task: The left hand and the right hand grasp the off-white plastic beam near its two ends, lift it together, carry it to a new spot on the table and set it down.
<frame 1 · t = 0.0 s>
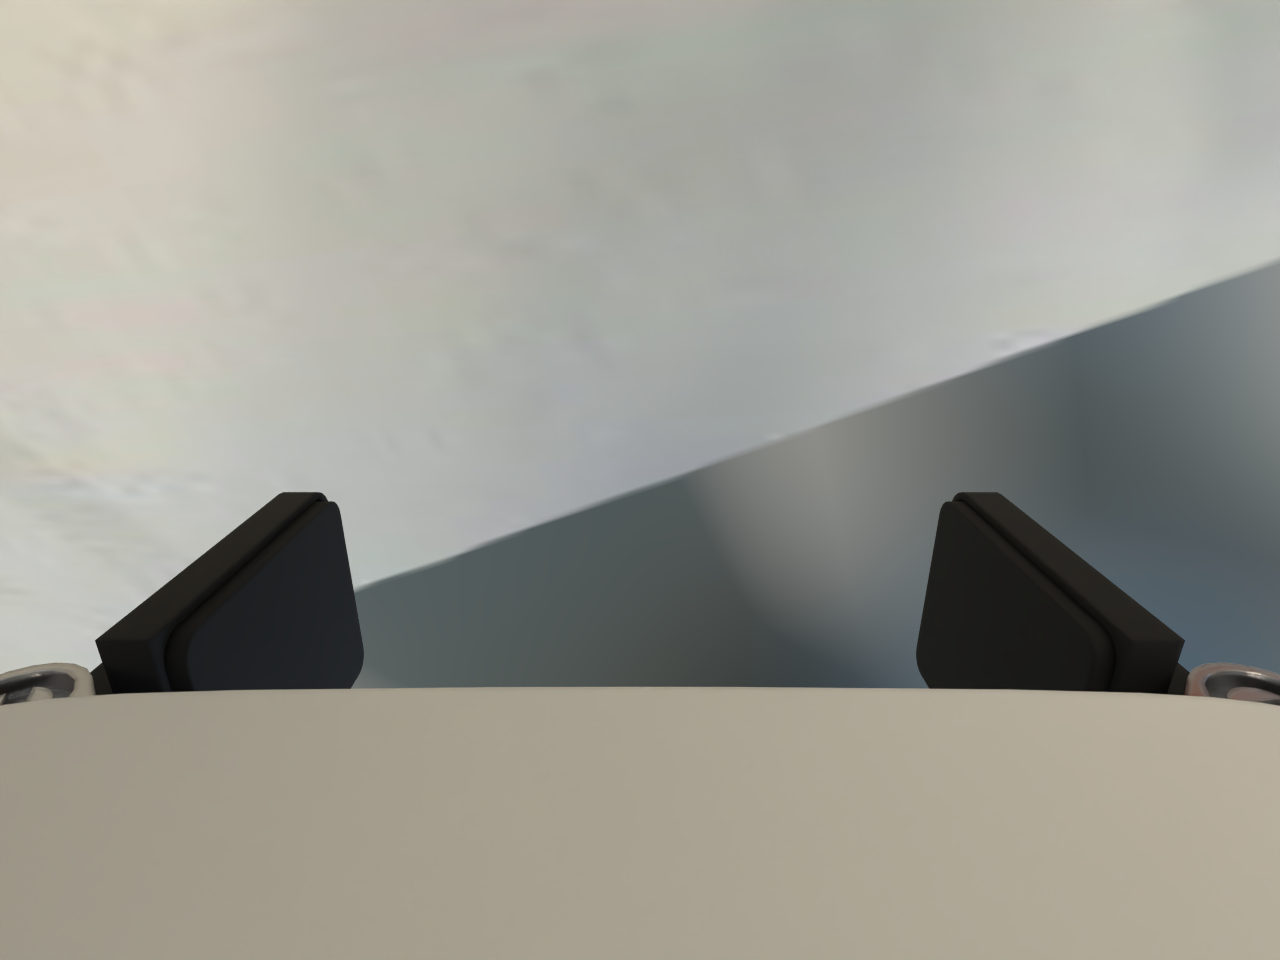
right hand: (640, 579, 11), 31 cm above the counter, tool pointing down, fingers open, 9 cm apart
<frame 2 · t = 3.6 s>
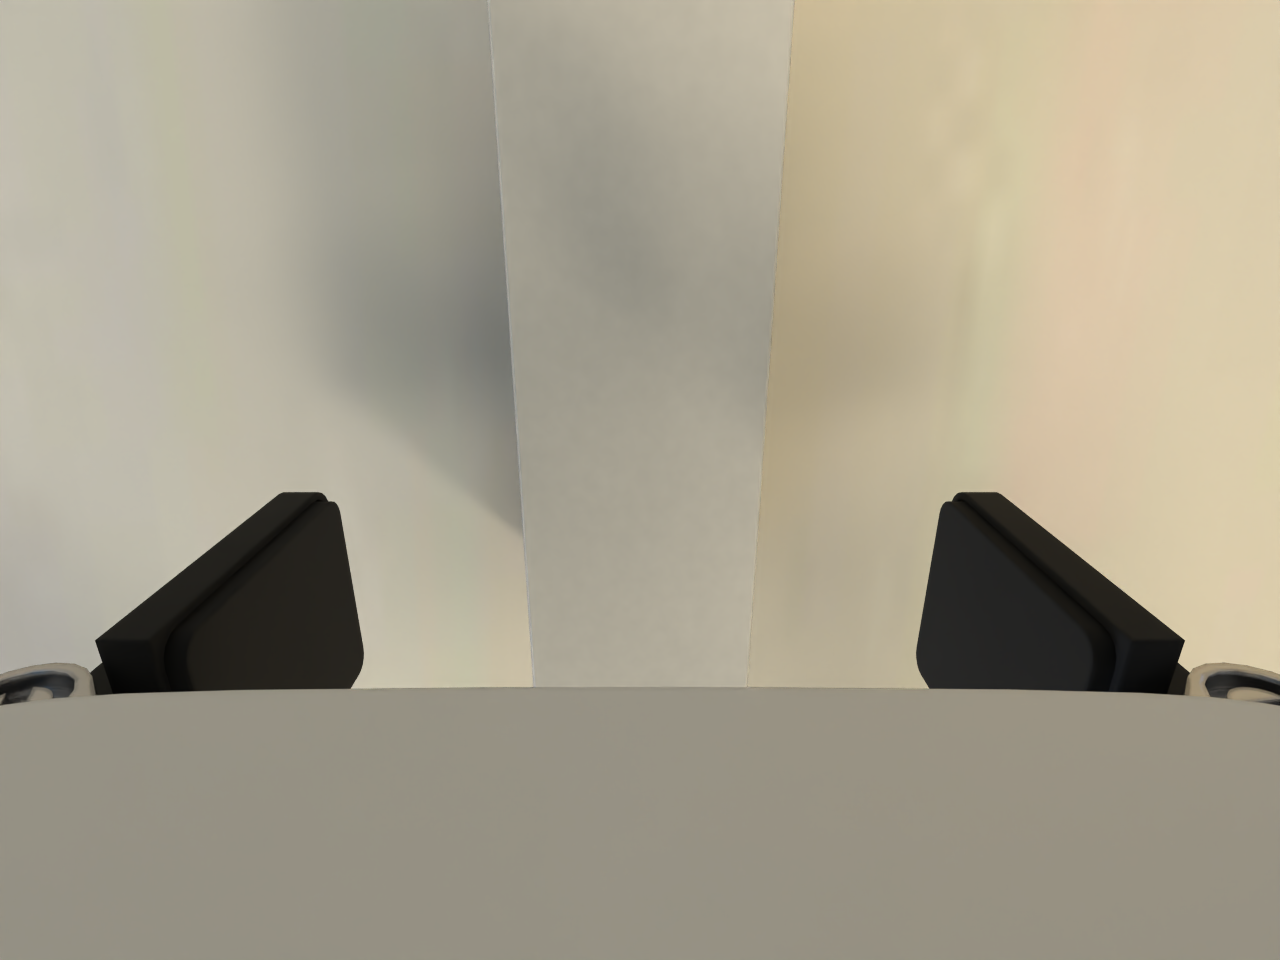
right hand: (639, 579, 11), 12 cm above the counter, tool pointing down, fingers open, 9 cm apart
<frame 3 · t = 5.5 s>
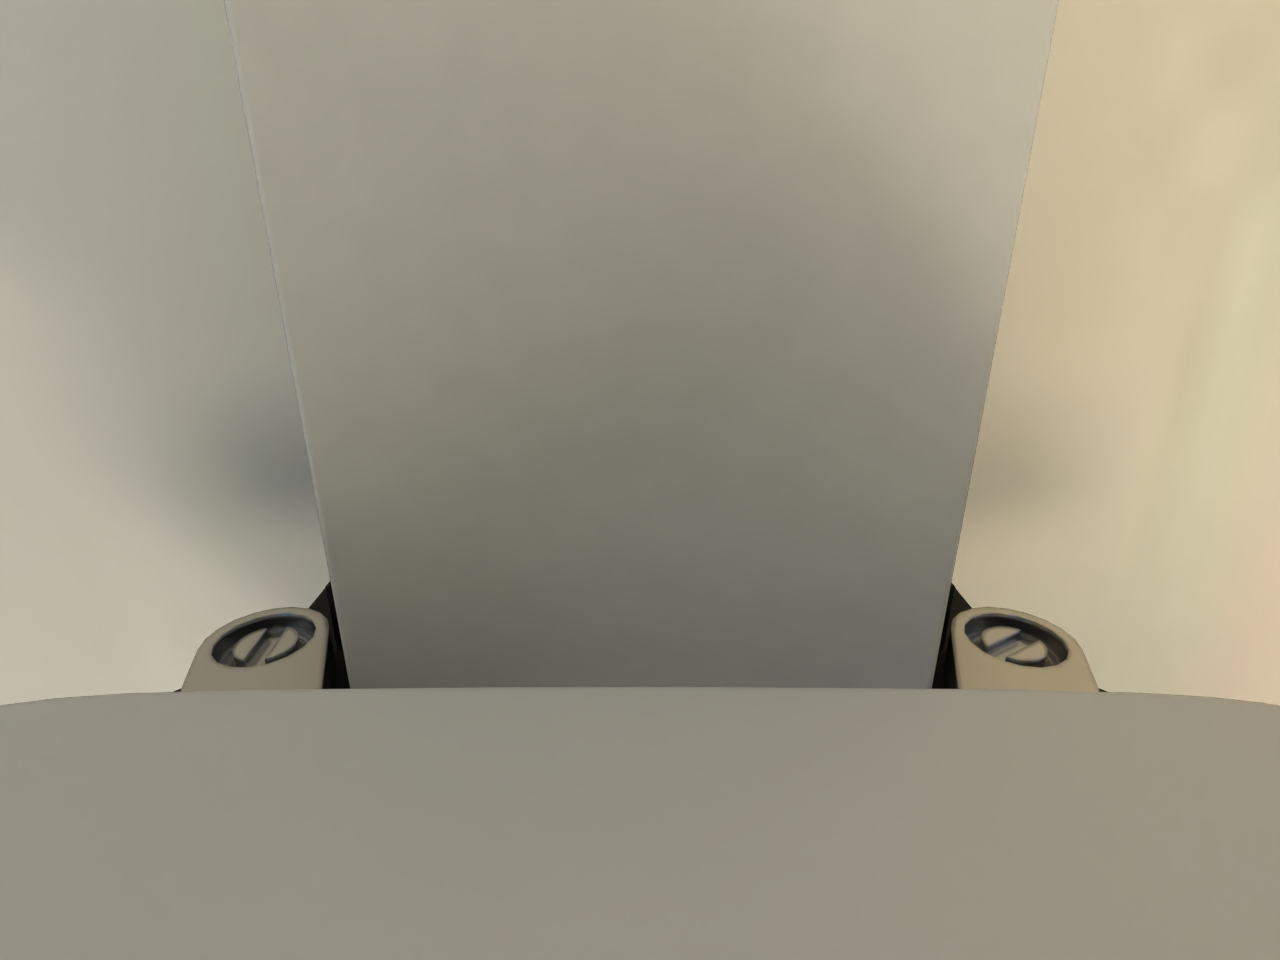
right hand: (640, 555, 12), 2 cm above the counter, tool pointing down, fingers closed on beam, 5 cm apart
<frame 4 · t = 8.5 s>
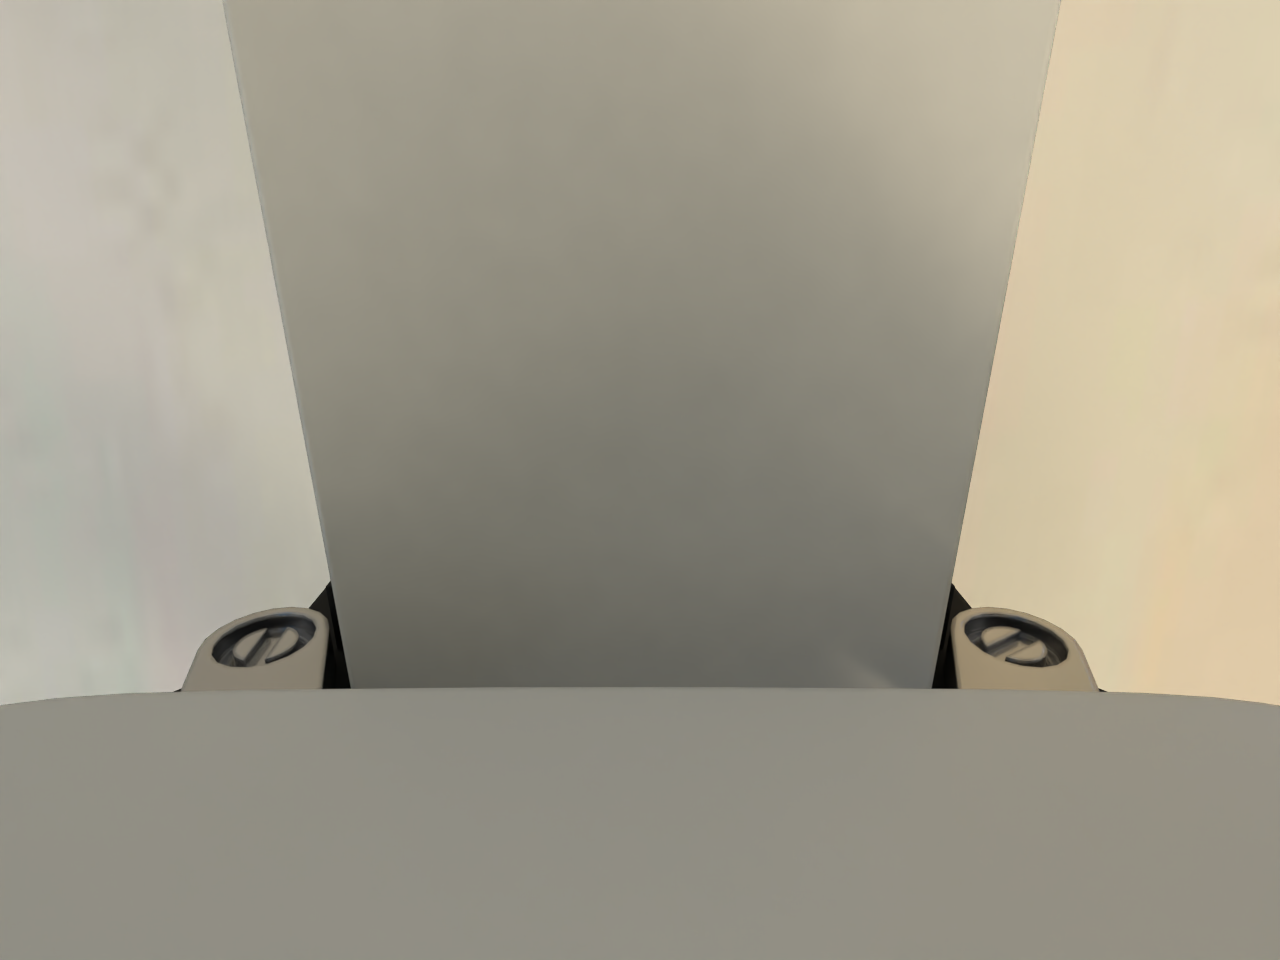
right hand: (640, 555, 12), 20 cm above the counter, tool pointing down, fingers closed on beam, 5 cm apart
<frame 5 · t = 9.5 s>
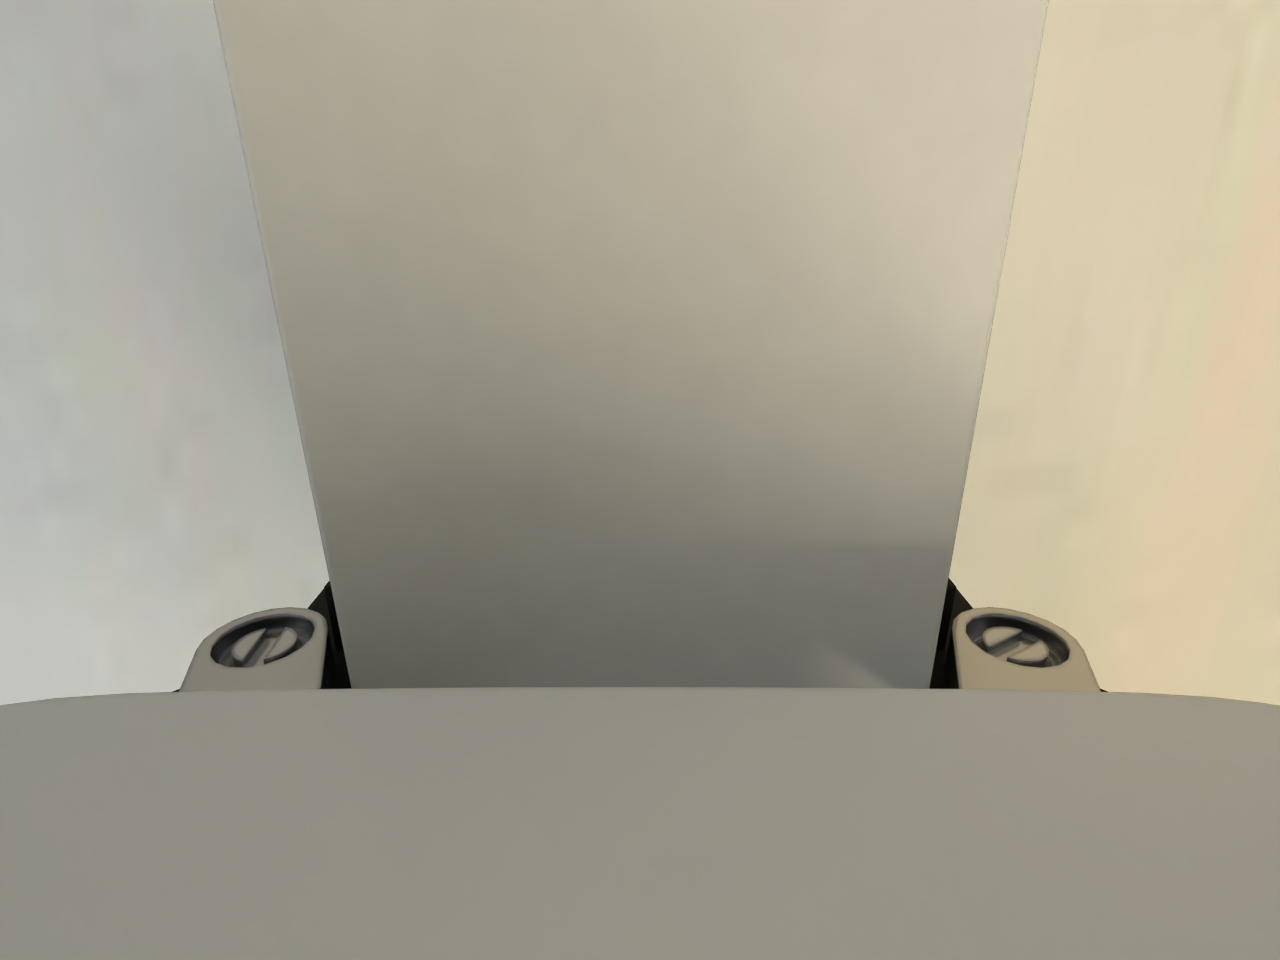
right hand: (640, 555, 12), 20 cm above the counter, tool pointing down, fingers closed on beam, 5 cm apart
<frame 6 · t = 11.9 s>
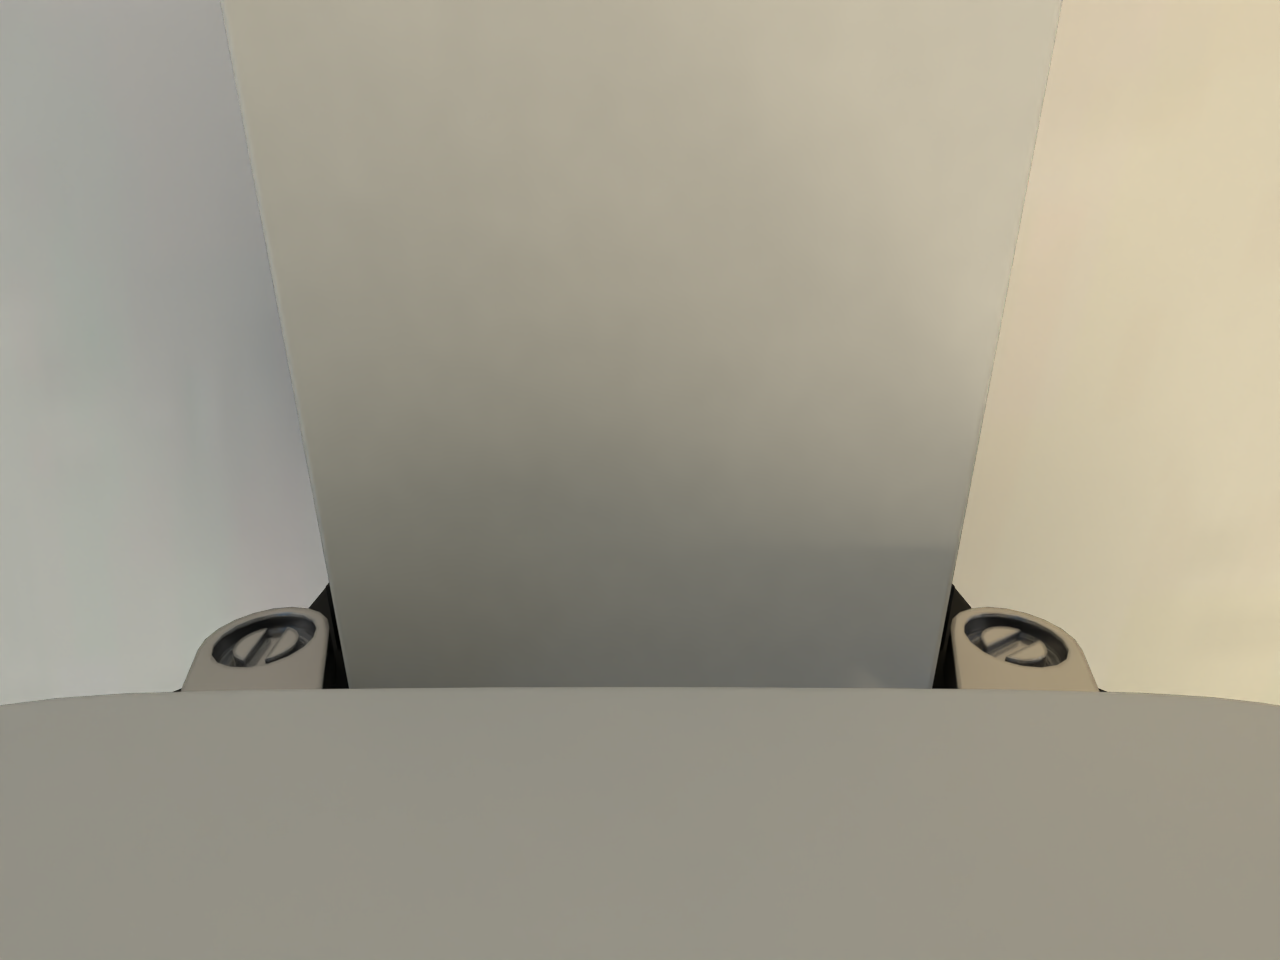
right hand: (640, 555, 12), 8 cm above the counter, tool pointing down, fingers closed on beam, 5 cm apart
when the right hand's fingers open (3 cm above the counter, at t = 13.4 s): beam drops 1 cm, on the counter.
when the left hand's fingers open (4 cm above the counter, at t = 13.5 s): beam stays where it is, on the counter.
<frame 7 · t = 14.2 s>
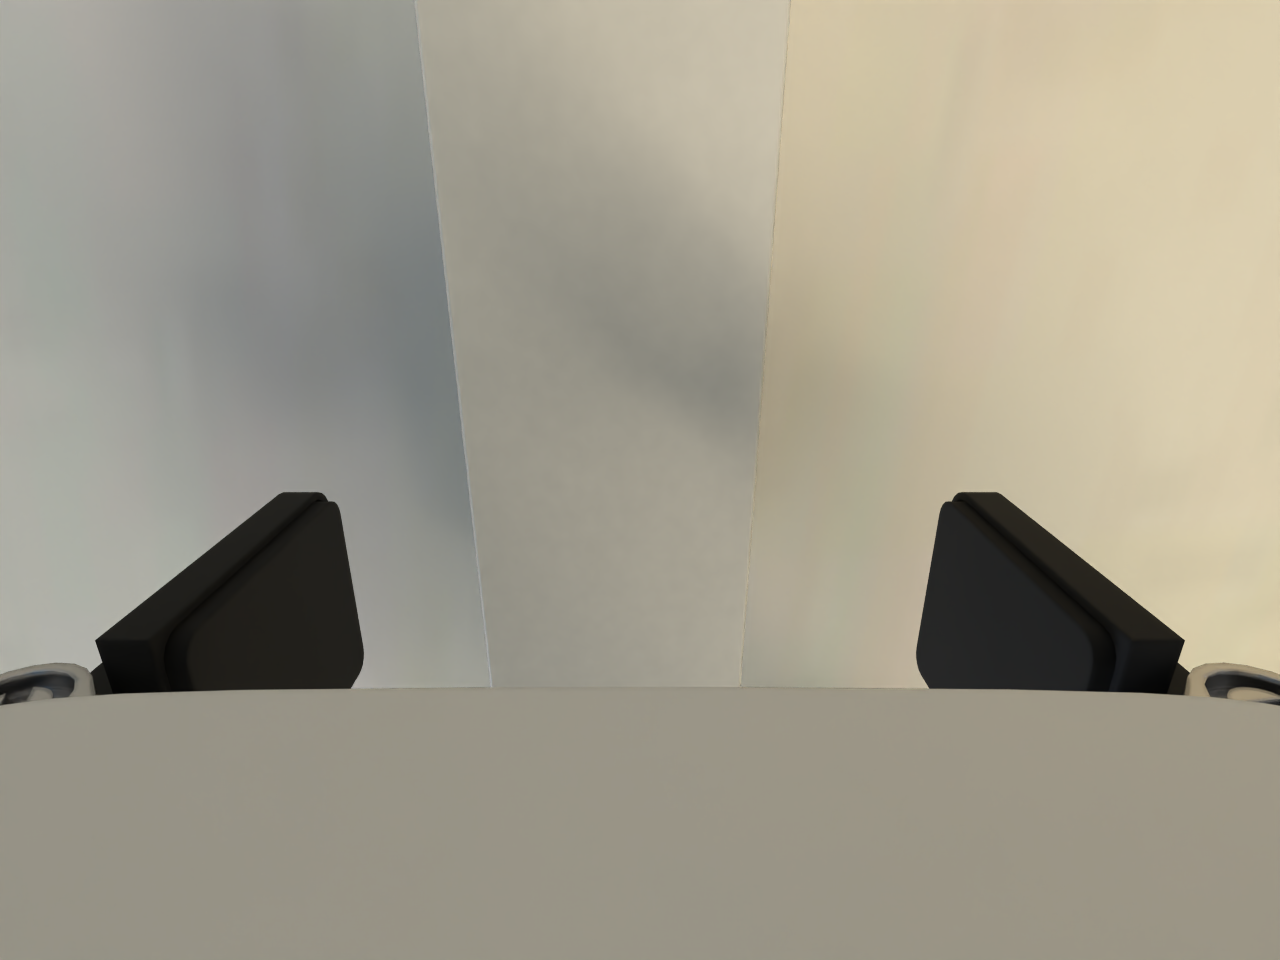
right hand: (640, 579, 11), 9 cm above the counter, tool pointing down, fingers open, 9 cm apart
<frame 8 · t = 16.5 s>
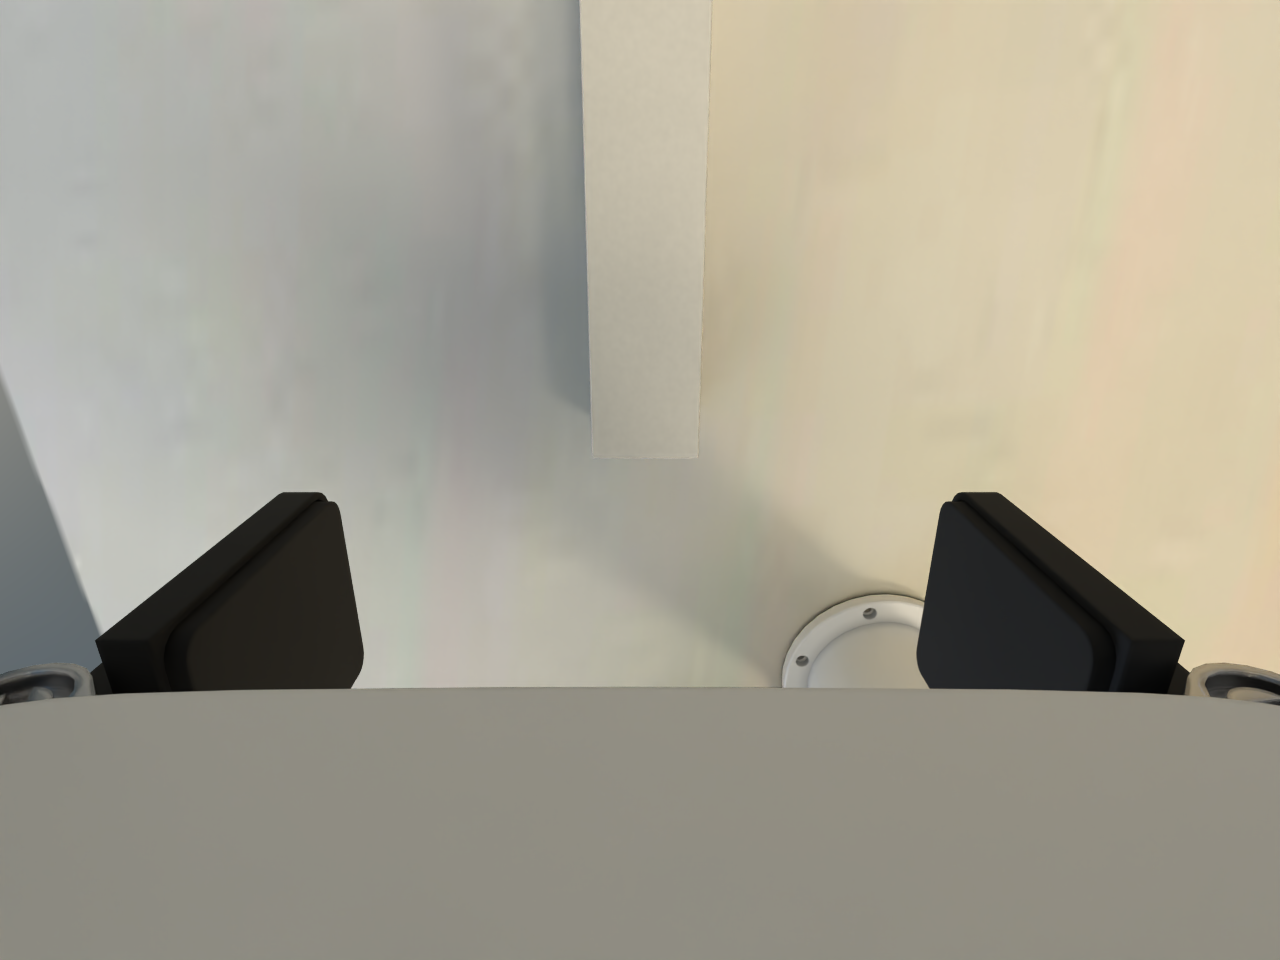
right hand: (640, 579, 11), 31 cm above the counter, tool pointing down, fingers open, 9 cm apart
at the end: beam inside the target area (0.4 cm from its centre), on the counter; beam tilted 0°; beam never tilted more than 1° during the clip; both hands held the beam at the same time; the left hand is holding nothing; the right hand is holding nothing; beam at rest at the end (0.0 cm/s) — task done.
